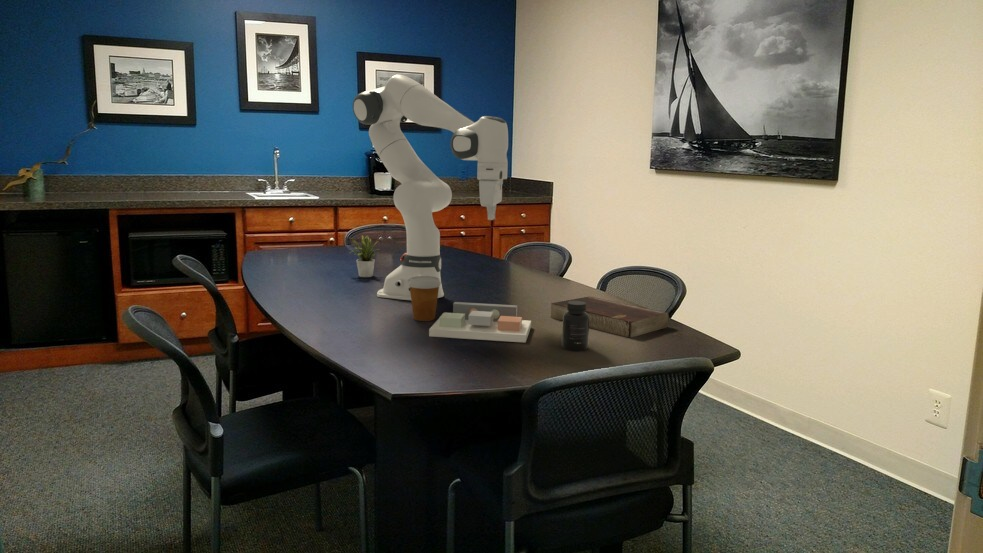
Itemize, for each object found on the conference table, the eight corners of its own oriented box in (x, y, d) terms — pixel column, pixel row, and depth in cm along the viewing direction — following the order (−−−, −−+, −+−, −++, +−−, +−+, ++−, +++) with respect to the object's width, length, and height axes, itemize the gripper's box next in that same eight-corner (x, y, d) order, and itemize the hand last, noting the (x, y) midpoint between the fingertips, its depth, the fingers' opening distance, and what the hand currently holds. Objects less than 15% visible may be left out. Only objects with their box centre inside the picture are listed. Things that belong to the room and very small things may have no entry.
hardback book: (667, 328, 208) (669, 311, 207) (630, 339, 195) (631, 321, 194) (589, 310, 228) (590, 295, 227) (550, 319, 215) (551, 303, 214)
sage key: (439, 326, 193) (439, 317, 193) (443, 321, 199) (444, 312, 199) (460, 327, 193) (461, 318, 192) (464, 322, 198) (465, 313, 198)
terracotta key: (497, 329, 191) (497, 320, 191) (500, 324, 197) (500, 315, 197) (519, 331, 190) (519, 322, 190) (521, 325, 196) (522, 317, 196)
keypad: (429, 336, 191) (429, 312, 190) (441, 322, 206) (442, 300, 205) (525, 342, 187) (526, 318, 186) (531, 327, 203) (531, 305, 201)
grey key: (468, 324, 192) (468, 315, 192) (472, 319, 198) (472, 310, 198) (490, 325, 191) (490, 316, 191) (493, 320, 197) (493, 311, 197)
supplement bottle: (559, 344, 186) (561, 299, 184) (584, 344, 187) (587, 299, 185) (564, 351, 180) (566, 305, 177) (590, 351, 180) (593, 305, 178)
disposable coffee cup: (415, 323, 204) (415, 282, 202) (403, 316, 212) (403, 276, 210) (445, 320, 208) (445, 280, 206) (432, 313, 216) (433, 274, 214)
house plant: (341, 273, 278) (340, 231, 275) (375, 271, 284) (375, 230, 281) (350, 279, 266) (349, 236, 263) (386, 277, 271) (385, 235, 268)
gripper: (487, 171, 219) (486, 216, 221) (476, 173, 199) (475, 222, 202) (507, 171, 218) (506, 216, 221) (498, 174, 198) (497, 223, 201)
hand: (491, 219), depth 211 cm, fingers closed
